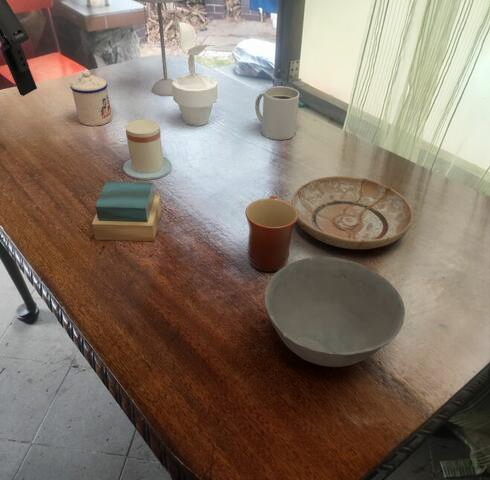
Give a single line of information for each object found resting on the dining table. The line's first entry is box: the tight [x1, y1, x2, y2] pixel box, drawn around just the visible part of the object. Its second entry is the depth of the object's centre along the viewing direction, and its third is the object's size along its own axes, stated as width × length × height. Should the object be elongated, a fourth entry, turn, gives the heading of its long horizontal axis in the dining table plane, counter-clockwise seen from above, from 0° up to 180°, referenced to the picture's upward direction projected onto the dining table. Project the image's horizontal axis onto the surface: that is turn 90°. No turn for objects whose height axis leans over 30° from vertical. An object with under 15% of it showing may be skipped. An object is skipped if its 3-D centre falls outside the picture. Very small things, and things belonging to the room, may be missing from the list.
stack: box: [91, 180, 163, 242], centre depth 86 cm, size 11×11×6 cm
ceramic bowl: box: [290, 175, 414, 250], centre depth 89 cm, size 23×24×5 cm
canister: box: [124, 118, 164, 173], centre depth 100 cm, size 7×7×9 cm
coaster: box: [122, 156, 173, 181], centre depth 104 cm, size 11×11×1 cm
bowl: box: [264, 256, 406, 368], centre depth 65 cm, size 19×19×10 cm
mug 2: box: [245, 195, 298, 273], centre depth 79 cm, size 12×9×10 cm
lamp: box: [133, 0, 184, 97], centre depth 125 cm, size 17×17×33 cm
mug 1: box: [254, 85, 300, 141], centre depth 116 cm, size 11×10×10 cm
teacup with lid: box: [69, 70, 113, 127], centre depth 118 cm, size 12×9×12 cm
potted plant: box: [166, 13, 218, 127], centre depth 113 cm, size 13×12×25 cm
